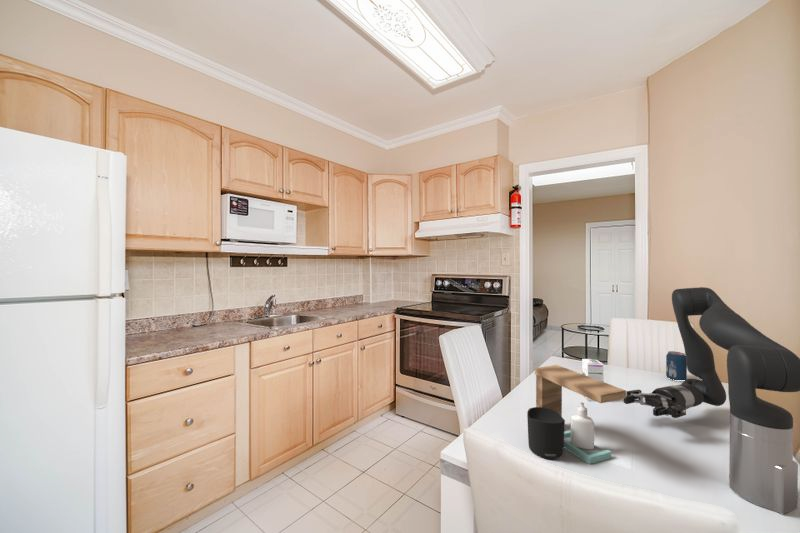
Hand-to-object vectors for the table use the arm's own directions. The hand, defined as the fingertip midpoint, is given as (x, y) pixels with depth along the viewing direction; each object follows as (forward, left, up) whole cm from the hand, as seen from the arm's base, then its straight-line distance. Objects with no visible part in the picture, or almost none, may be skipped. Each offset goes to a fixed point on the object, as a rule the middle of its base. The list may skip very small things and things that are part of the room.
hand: (639, 406), depth 96 cm
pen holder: (+3, +34, -8) cm, 35 cm away
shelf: (+2, +24, -8) cm, 25 cm away
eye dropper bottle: (0, +24, -8) cm, 25 cm away
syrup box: (+23, -9, -8) cm, 26 cm away
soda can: (+25, -63, -8) cm, 69 cm away
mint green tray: (0, +24, -8) cm, 25 cm away
